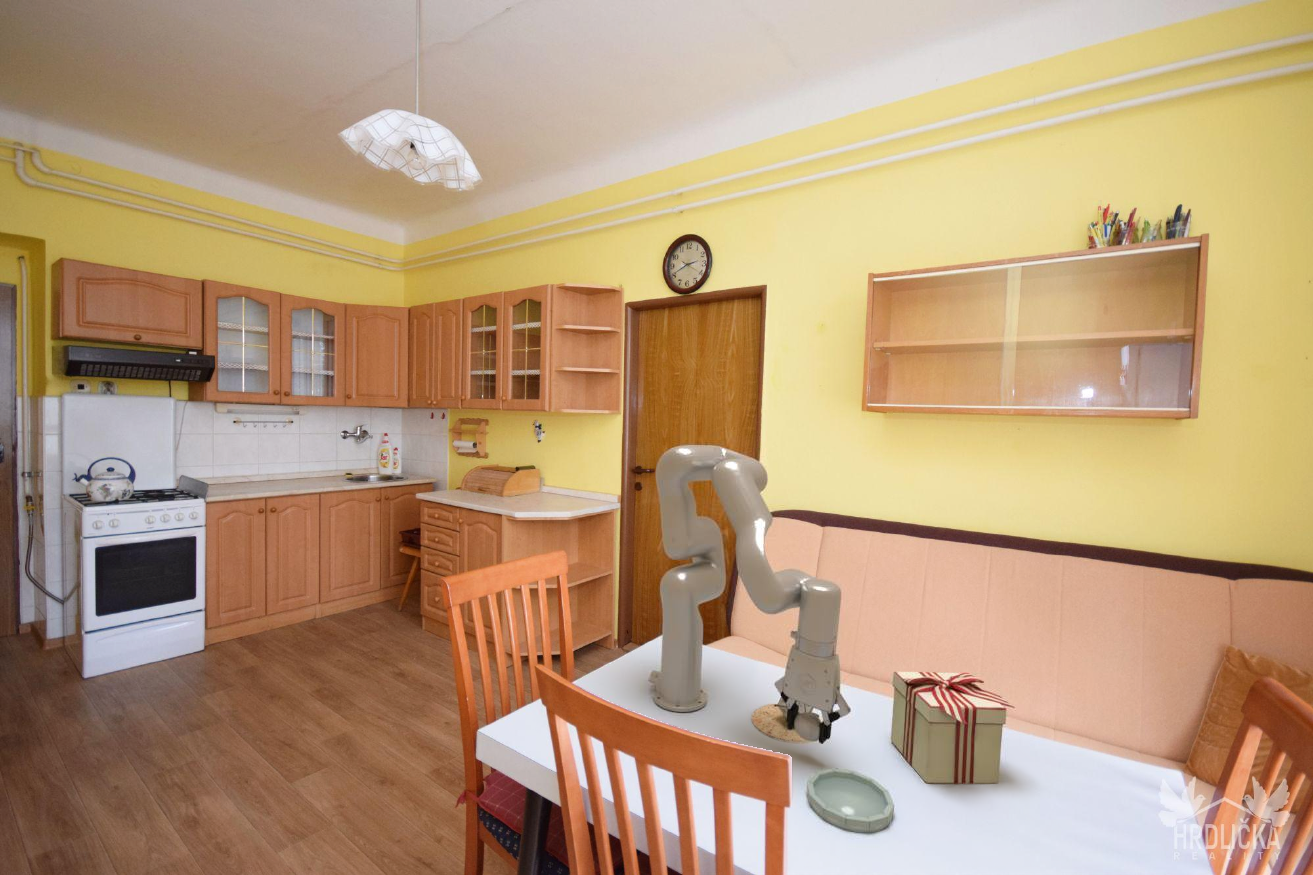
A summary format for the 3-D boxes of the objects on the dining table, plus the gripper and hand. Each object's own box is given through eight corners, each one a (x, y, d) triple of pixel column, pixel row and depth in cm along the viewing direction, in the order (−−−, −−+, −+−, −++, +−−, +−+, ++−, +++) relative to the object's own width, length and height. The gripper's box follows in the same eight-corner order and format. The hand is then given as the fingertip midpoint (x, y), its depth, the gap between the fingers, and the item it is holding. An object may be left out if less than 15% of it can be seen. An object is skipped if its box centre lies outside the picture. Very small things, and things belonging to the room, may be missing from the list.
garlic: (828, 740, 113) (831, 714, 113) (813, 749, 110) (815, 723, 109) (802, 725, 118) (805, 701, 117) (786, 734, 114) (789, 708, 114)
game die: (802, 742, 126) (820, 720, 121) (766, 723, 128) (782, 701, 122) (809, 707, 134) (826, 684, 128) (774, 689, 135) (790, 666, 129)
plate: (794, 806, 99) (794, 795, 99) (825, 770, 110) (825, 759, 110) (877, 845, 91) (878, 833, 91) (902, 801, 102) (903, 790, 102)
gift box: (939, 798, 103) (944, 703, 103) (883, 741, 121) (887, 660, 121) (1024, 793, 106) (1029, 700, 105) (957, 738, 124) (961, 658, 123)
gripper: (767, 636, 115) (759, 723, 116) (853, 665, 104) (843, 761, 105) (783, 626, 121) (776, 709, 122) (867, 653, 110) (857, 744, 111)
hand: (807, 732), depth 114 cm, fingers closed on garlic, 5 cm apart
